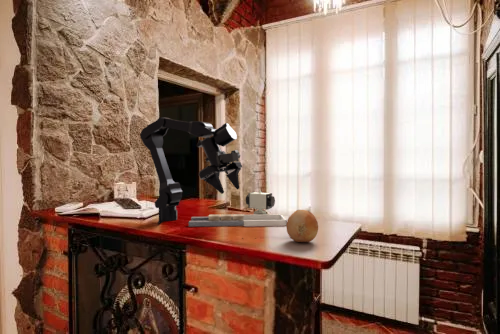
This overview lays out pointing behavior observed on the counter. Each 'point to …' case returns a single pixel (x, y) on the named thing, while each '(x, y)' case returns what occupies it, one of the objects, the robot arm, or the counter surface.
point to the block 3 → (237, 216)
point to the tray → (264, 220)
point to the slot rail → (214, 222)
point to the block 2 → (225, 216)
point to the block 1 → (214, 217)
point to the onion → (302, 226)
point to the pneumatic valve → (260, 201)
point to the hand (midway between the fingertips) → (230, 191)
